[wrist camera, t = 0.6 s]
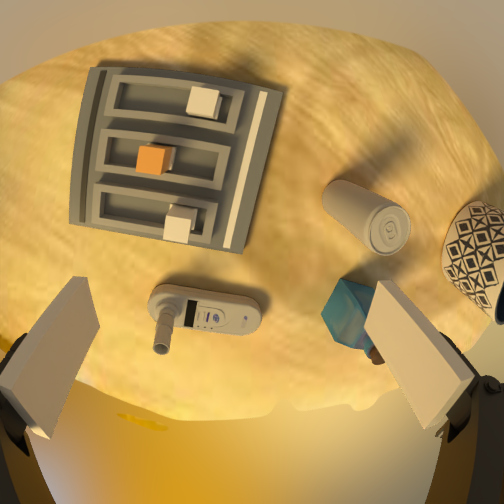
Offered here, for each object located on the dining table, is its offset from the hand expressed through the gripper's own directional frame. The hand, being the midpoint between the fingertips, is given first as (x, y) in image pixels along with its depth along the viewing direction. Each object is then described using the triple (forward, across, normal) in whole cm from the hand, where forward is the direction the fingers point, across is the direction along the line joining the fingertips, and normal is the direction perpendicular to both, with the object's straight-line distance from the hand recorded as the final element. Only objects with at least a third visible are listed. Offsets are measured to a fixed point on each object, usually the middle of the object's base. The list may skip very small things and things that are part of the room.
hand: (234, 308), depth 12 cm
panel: (+21, -7, +5) cm, 23 cm away
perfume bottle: (+22, +18, -14) cm, 32 cm away
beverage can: (+22, +13, 0) cm, 25 cm away
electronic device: (+22, -3, -15) cm, 26 cm away
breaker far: (+20, -5, -2) cm, 21 cm away
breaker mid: (+20, -7, +5) cm, 22 cm away
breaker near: (+20, -3, +10) cm, 23 cm away
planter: (+22, +42, -5) cm, 48 cm away
